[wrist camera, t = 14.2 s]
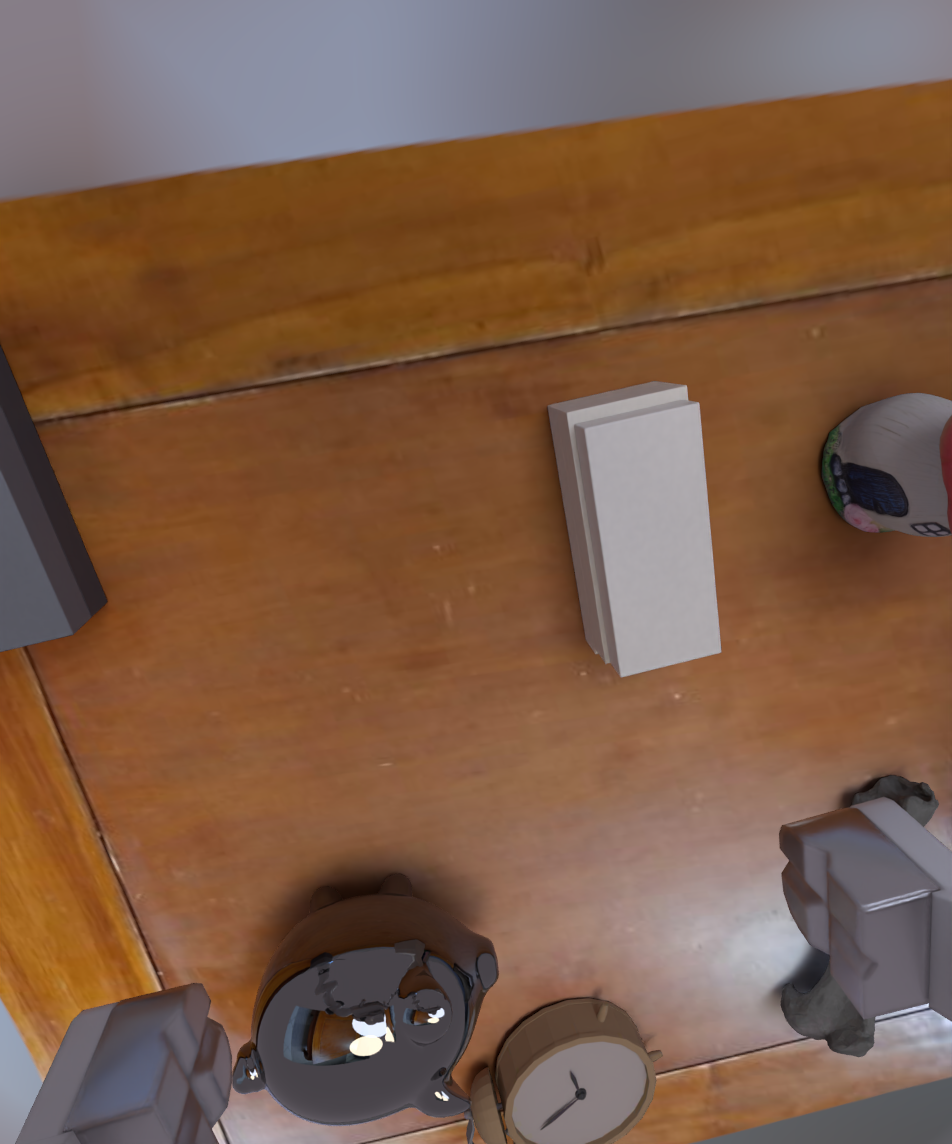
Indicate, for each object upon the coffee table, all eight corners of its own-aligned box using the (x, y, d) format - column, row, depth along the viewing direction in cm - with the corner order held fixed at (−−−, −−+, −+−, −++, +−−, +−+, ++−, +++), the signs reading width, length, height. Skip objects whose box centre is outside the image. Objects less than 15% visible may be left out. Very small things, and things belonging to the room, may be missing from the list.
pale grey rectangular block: (573, 423, 33) (584, 428, 31) (683, 398, 33) (699, 401, 31) (609, 663, 37) (620, 678, 35) (706, 639, 37) (722, 653, 36)
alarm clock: (687, 1082, 50) (538, 1235, 49) (653, 1027, 55) (516, 1165, 54) (600, 1005, 46) (437, 1168, 46) (571, 953, 51) (422, 1099, 50)
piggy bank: (495, 955, 48) (529, 1134, 37) (279, 1004, 47) (248, 1203, 36) (472, 825, 44) (503, 981, 33) (237, 874, 43) (188, 1053, 32)
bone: (837, 1003, 54) (892, 1081, 48) (762, 1008, 53) (809, 1089, 47) (920, 762, 47) (995, 819, 42) (836, 762, 46) (901, 820, 41)
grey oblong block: (547, 405, 36) (566, 412, 33) (655, 380, 37) (687, 385, 33) (585, 640, 41) (606, 670, 37) (681, 616, 41) (711, 644, 38)
